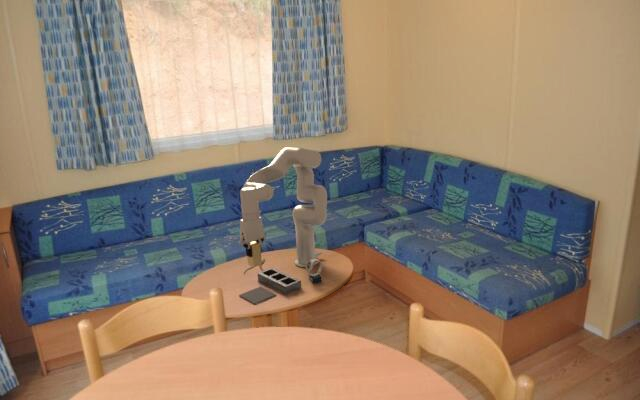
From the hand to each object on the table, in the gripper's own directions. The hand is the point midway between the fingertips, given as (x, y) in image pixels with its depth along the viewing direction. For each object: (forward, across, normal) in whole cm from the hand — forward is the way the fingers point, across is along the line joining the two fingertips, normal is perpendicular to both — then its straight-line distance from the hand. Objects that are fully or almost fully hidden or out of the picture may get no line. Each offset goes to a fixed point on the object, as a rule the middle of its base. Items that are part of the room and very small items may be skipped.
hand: (254, 254), depth 212 cm
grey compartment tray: (+20, -14, -2) cm, 25 cm away
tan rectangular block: (+5, 0, 0) cm, 5 cm away
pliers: (+21, -18, -28) cm, 39 cm away
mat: (+20, 0, 0) cm, 20 cm away
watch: (+20, -28, +8) cm, 36 cm away
